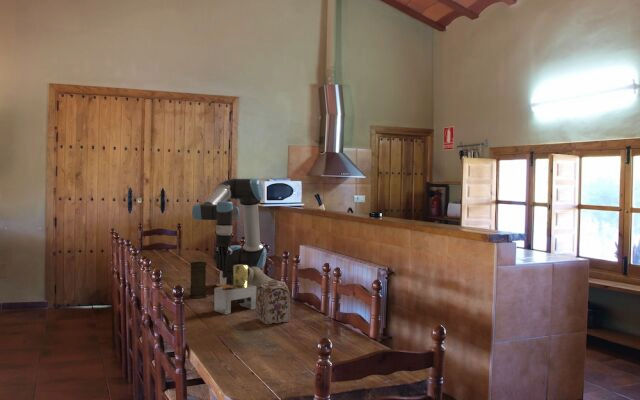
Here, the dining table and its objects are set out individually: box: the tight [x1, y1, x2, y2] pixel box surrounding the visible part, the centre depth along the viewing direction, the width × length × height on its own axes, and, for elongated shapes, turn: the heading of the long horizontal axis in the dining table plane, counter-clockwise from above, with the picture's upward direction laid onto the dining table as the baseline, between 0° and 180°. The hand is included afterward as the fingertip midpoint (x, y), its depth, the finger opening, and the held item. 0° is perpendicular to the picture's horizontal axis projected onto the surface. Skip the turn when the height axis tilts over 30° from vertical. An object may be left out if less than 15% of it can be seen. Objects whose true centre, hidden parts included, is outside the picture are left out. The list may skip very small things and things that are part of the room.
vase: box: [245, 264, 286, 299], centre depth 287 cm, size 22×22×28 cm
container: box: [189, 261, 208, 299], centre depth 293 cm, size 9×9×18 cm
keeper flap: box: [216, 283, 235, 288], centre depth 261 cm, size 7×6×1 cm
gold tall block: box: [233, 264, 248, 304], centre depth 268 cm, size 7×7×18 cm
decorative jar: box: [256, 279, 291, 325], centre depth 247 cm, size 12×12×18 cm
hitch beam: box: [213, 284, 257, 315], centre depth 266 cm, size 18×9×11 cm, turn 135°
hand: (223, 284), depth 260 cm, fingers closed
